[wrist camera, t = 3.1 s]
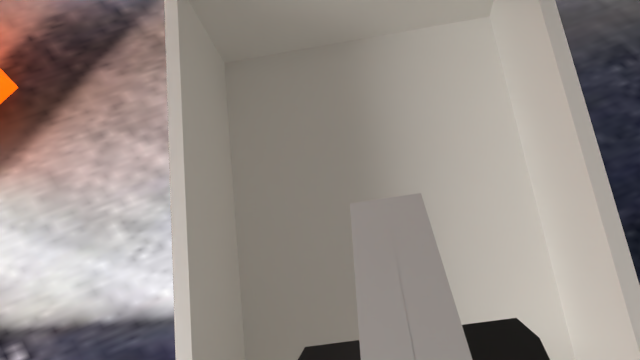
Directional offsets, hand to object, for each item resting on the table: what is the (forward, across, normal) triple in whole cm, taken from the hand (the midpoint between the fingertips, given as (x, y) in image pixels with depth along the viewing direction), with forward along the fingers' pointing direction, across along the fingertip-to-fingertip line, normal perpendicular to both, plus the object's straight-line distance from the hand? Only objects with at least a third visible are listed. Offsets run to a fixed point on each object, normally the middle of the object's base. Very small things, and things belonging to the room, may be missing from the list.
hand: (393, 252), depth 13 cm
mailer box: (+15, 0, -7) cm, 17 cm away
